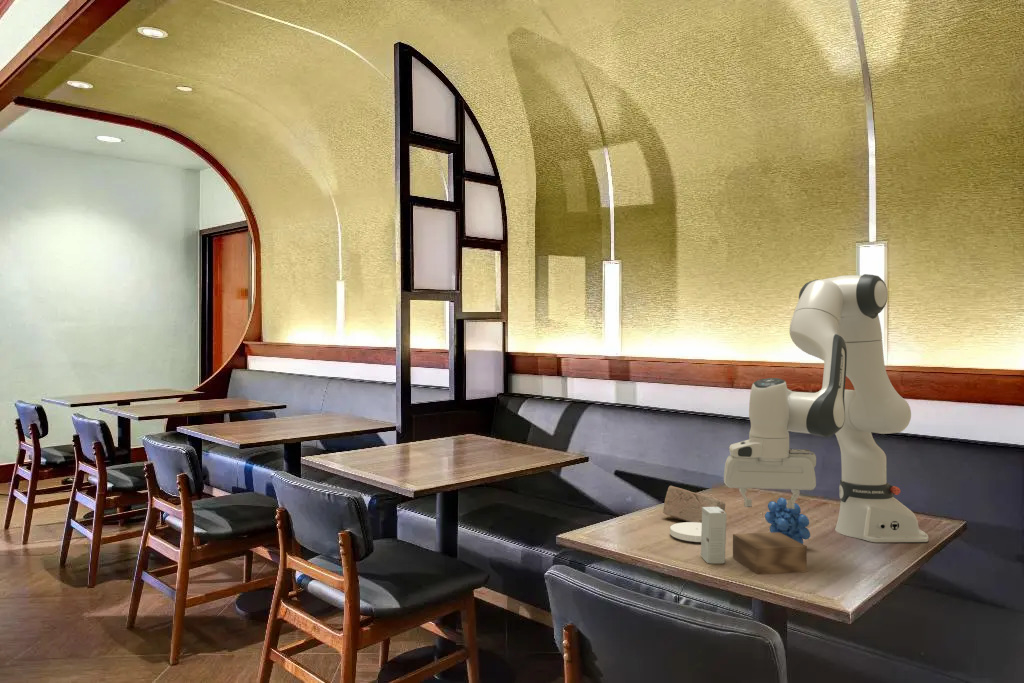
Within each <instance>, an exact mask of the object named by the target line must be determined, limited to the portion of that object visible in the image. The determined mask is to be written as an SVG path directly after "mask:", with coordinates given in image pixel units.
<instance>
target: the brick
mask: <svg viewBox="0 0 1024 683" xmlns="http://www.w3.org/2000/svg"><path fill="white" fill-rule="evenodd" d="M702 507H719V508H720V509H722V510H723V511H724V512H725V511H726V502H725V501H724V500H722V499H719V498H716V497H713V496H711V495H707V494H703V493H697V492H693V491H690V490H687V489H684V488H680V487H676V486H673V485H669V486H668V488H667V491H666V494H665V498H664V503H663V510H662V513H663V514H665V515H666V516H669V517H673V518H675V519H679V520H682V521H686V522H698V523H699V522H700V523H702Z"/></svg>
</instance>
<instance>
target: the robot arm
mask: <svg viewBox="0 0 1024 683" xmlns="http://www.w3.org/2000/svg"><path fill="white" fill-rule="evenodd" d="M887 302H888V288H887V285H886V283H885V281H884V280H883V279H882V278H881V277H880V276H878V275H874V274H869V273H868V274H866V273H865V274H861V275H860V274H859V275H858V274H857V275H856V274H849V275H848V274H847V275H838V276H836V277H835V276H834V277H828V278H824V279H823V278H822V279H818V278H817V279H813V280H810V281H807V282H806V283H804V285H803V286H802V287H801V288H800V290H799V293H798V301H797V303H796V306H795V309H794V312H793V313H792V318H791V321H790V324H789V336H790V339H791V341H792V342H793V343H794V345H795V346H796V347H797V348H798V349H799V350H801V351H802V352H804V353H805V354H807V355H810V356H812V357H815V358H818V359H819V360H822V361H823V364H824V365H823V376H822V387H821V389H819V391H817V392H806V391H805V392H803V391H795V390H794V391H792V390H791V389H789V388H788V386H787V382H786V381H785V379H782V378H779V377H777V378H776V377H768V378H767V377H766V378H761V379H757V380H756V381H754V382H753V383H752V384H751V390H750V394H749V405H748V406H749V407H748V408H749V409H748V417H749V418H748V419H749V421H750V429H749V434H748V437H749V438H748V439H746V440H742V441H739V442H734V443H732V444H730V445H729V447H728V448H729V455H728V456H727V458H726V460H725V462H724V471H723V482H724V484H725V486H726V487H727V488H729V489H730V488H732V489H739V493H740V495H741V496H742V498H743V500H744V501H743V503H744V504H743V505H744V508H752V507H753V505H752V504H753V500H752V498H748V497H747V496H746V493H747V492H748V490H747V489H759V490H761V489H762V490H791V493H792V495H791V497H790V498H789V499H786V503H787V504H786V507H787V509H794V503H795V502H796V501H797V499H798V498H799V496H800V491H813V490H814V489H815V488H816V487H817V478H816V472H815V467H816V465H817V456H816V454H815V453H814V452H813V451H812V450H811V451H810V449H808V448H803V449H802V448H800V449H798V448H790V433H789V432H792V433H801V434H810V435H813V436H817V437H818V436H819V437H824V438H830V437H832V436H834V435H835V436H836V440H837V443H838V445H839V448H840V460H841V461H840V462H841V464H840V465H841V479H840V480H839V486H838V488H839V500H840V504H839V506H840V507H839V512H838V517H837V521H836V522H837V523H836V525H835V528H834V530H835V531H836V532H837V534H841V535H843V536H846V537H848V538H849V537H850V538H854V539H860V540H864V541H866V542H871V543H927V542H929V535H928V534H927V533H926V532H925V531H923V530H921V529H920V527H919V522H918V518H917V516H916V515H915V513H914V512H913V511H912V510H911V509H909V508H908V507H907V506H906V505H904V504H903V503H902V502H900V501H899V500H898V499H897V498H895V497H894V496H895V495H896V496H898V495H900V494H901V489H900V487H898V486H895V485H892V484H890V483H889V482H887V455H886V453H885V451H884V450H883V449H882V448H881V447H880V446H879V445H878V444H877V443H876V441H875V439H874V438H873V433H875V434H881V435H885V434H886V435H887V434H897V433H901V432H903V431H905V430H906V428H907V427H908V426H909V424H910V422H911V418H912V411H911V406H910V405H909V402H908V401H907V399H905V398H903V397H902V396H901V395H900V394H899V393H898V391H897V390H896V389H895V387H894V386H893V385H892V382H891V380H890V378H889V375H888V373H887V370H886V366H885V360H884V359H885V358H884V347H883V344H884V343H883V333H882V326H881V321H880V317H879V314H880V313H881V312H882V311H883V310H884V308H885V307H886V304H887ZM846 377H847V378H846ZM846 379H849V380H850V382H851V384H852V386H853V388H854V389H846Z"/></svg>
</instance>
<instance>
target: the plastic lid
mask: <svg viewBox="0 0 1024 683" xmlns="http://www.w3.org/2000/svg"><path fill="white" fill-rule="evenodd" d="M701 531H702V523H700V522H699V523H698V522H689V521H686V522H677V523H674V524H672V525H670V526H669V535H670V536H672V537H673V538H675V539H678V540H682V541H686V542H694V543H701Z"/></svg>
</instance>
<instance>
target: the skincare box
mask: <svg viewBox="0 0 1024 683" xmlns="http://www.w3.org/2000/svg"><path fill="white" fill-rule="evenodd" d="M726 536H727V512H725V511H723V510H722V509H720V508H719V507H702V531H701V542H700V557H701V558H702V560H704V562H706V563H707V564H712V565H713V564H716V565H717V564H725V562H726V540H727V539H726V538H727V537H726Z"/></svg>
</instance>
